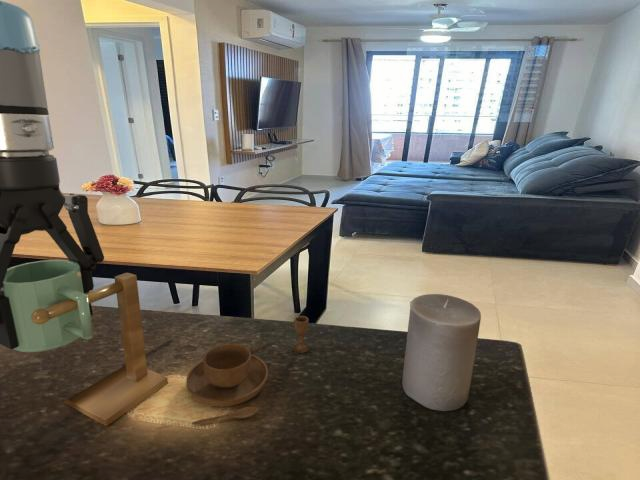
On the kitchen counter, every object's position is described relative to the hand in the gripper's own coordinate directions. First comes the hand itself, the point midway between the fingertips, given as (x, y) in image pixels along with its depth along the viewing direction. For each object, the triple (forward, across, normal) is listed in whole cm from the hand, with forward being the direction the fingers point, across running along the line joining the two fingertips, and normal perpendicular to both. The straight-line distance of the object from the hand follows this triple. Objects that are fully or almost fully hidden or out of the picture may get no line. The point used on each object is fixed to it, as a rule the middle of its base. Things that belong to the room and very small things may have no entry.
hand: (49, 328), depth 50 cm
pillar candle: (+11, +28, -46) cm, 55 cm away
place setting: (+11, +16, -21) cm, 29 cm away
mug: (+1, 0, -2) cm, 3 cm away
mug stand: (+11, +3, -4) cm, 12 cm away
